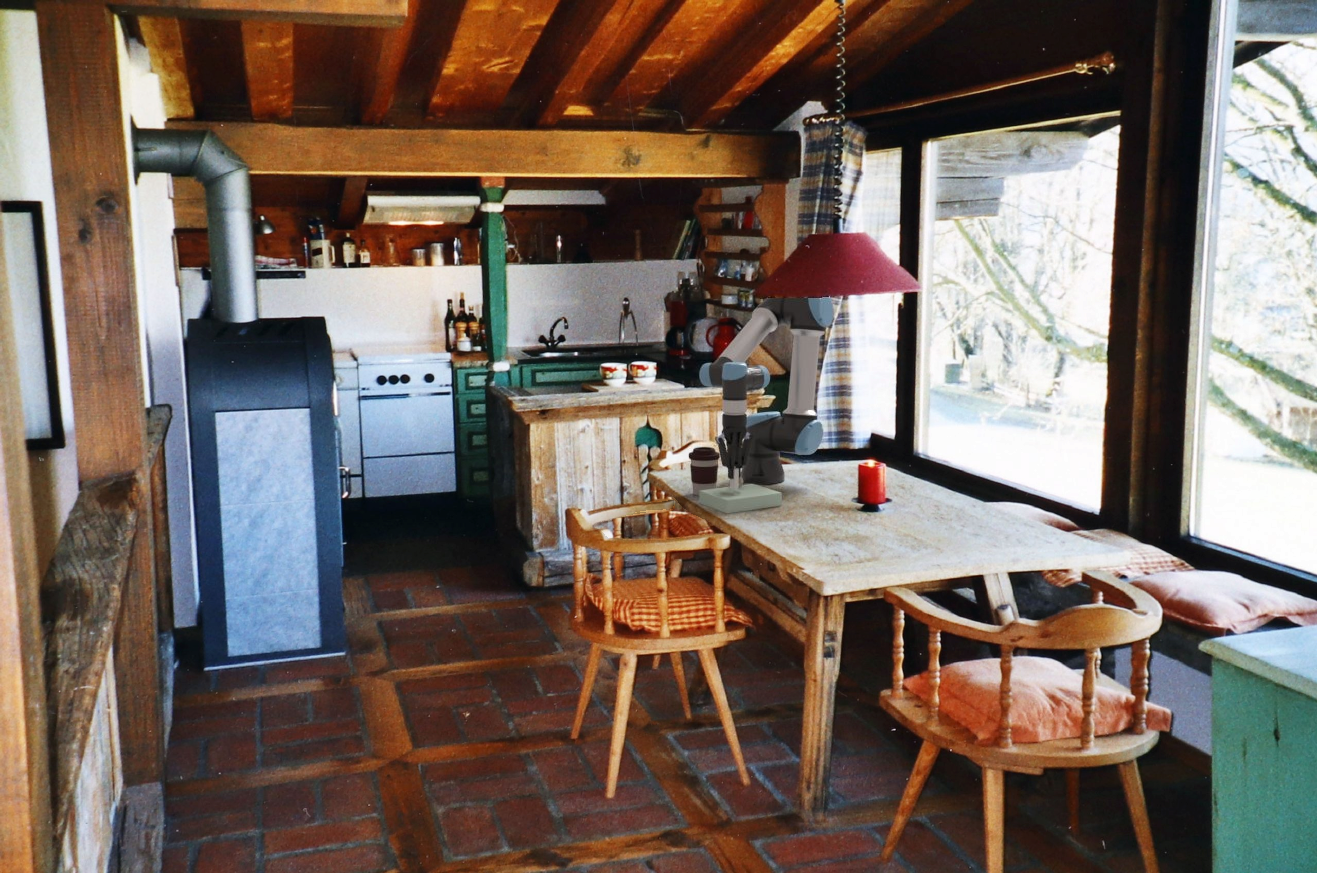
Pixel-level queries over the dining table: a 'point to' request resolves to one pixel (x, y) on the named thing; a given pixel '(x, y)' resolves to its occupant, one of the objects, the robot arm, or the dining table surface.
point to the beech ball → (740, 482)
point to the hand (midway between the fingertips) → (734, 488)
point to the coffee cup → (703, 468)
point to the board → (740, 498)
